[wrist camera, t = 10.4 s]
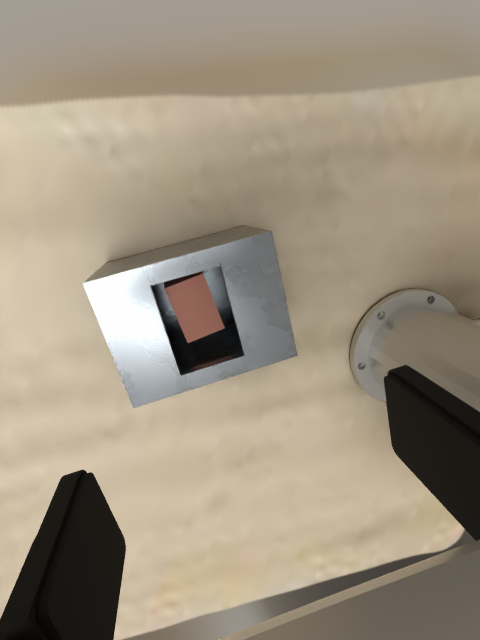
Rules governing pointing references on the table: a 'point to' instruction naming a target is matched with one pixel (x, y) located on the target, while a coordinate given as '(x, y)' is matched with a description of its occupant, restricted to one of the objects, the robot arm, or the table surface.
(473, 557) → the robot arm
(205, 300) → the block
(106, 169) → the table surface
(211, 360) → the box
